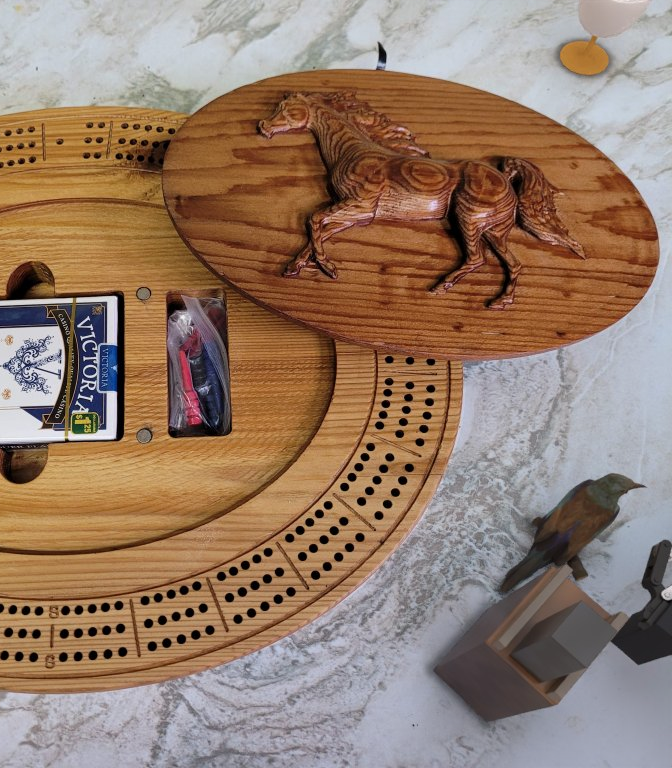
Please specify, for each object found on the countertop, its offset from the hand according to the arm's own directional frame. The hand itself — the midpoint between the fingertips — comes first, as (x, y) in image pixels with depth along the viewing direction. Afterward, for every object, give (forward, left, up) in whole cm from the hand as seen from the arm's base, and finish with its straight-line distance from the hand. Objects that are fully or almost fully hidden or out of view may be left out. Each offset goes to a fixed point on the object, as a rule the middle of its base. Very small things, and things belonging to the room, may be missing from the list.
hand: (662, 641), depth 94 cm
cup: (+66, -93, -19) cm, 116 cm away
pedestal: (+10, +10, -19) cm, 23 cm away
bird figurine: (+13, -9, -19) cm, 25 cm away
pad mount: (+10, +10, +4) cm, 15 cm away
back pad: (0, -3, -10) cm, 10 cm away
